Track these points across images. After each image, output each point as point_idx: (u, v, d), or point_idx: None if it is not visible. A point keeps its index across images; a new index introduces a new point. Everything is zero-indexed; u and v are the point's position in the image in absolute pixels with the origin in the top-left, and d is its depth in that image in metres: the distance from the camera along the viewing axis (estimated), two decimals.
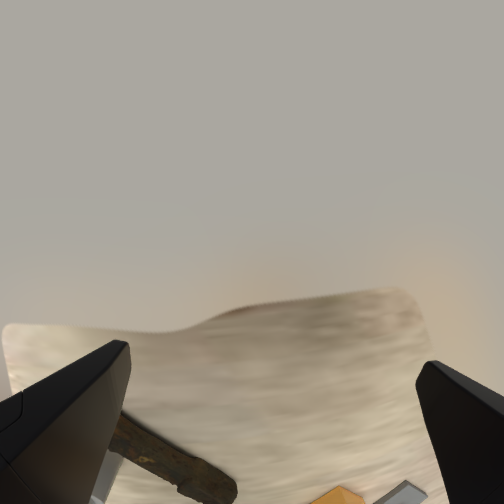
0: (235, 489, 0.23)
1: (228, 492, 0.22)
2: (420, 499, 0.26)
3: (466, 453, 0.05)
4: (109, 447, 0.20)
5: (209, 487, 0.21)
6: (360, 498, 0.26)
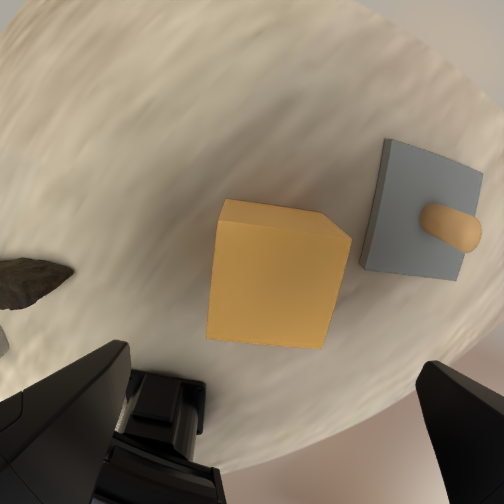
0: (57, 273, 0.17)
1: (32, 274, 0.15)
2: (470, 182, 0.16)
3: (466, 453, 0.05)
4: None
5: (4, 276, 0.15)
6: (309, 212, 0.17)
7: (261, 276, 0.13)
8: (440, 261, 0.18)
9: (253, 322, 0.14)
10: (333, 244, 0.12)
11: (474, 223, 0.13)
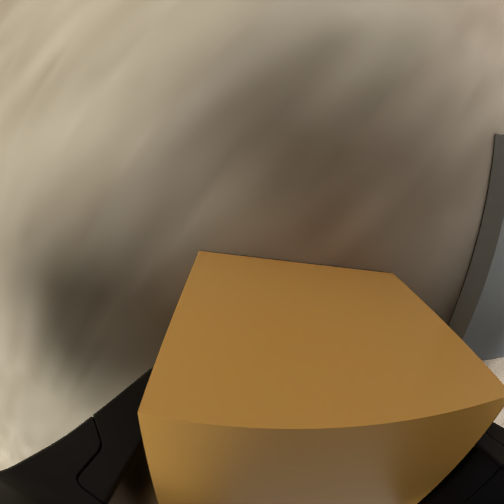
0: None
1: None
2: None
3: None
4: None
5: None
6: (376, 276, 0.08)
7: (285, 502, 0.04)
8: None
9: None
10: (475, 418, 0.03)
11: None
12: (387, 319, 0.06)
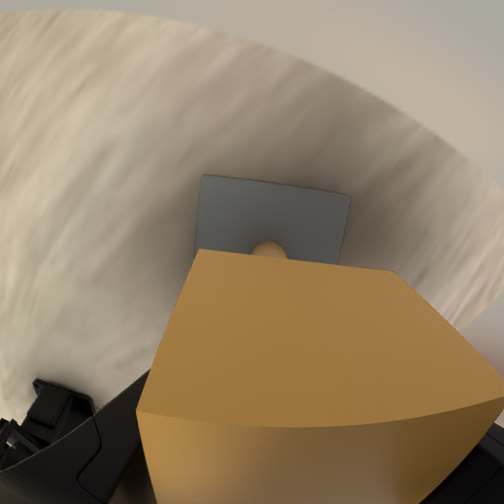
0: None
1: None
2: (328, 211, 0.16)
3: None
4: None
5: None
6: (377, 274, 0.08)
7: (286, 502, 0.04)
8: None
9: None
10: (477, 416, 0.03)
11: None
12: (388, 317, 0.06)
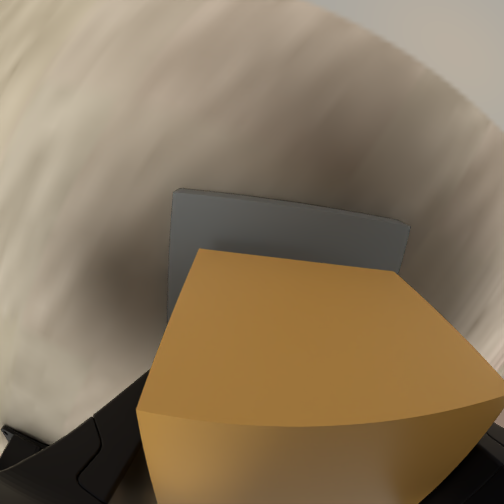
0: None
1: None
2: (377, 249, 0.10)
3: None
4: None
5: None
6: (376, 274, 0.08)
7: (286, 501, 0.04)
8: None
9: None
10: (477, 416, 0.03)
11: None
12: (388, 316, 0.06)
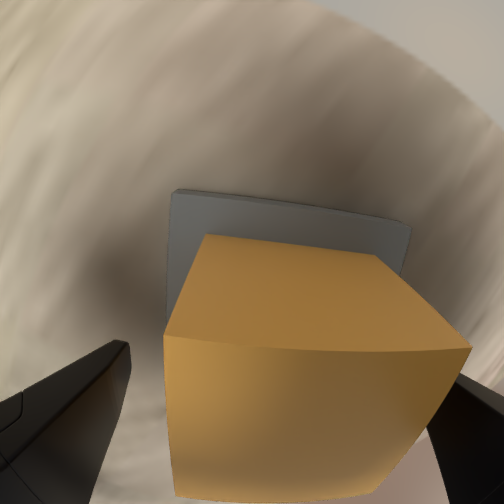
0: None
1: None
2: (378, 250, 0.10)
3: (466, 453, 0.05)
4: None
5: None
6: (358, 256, 0.09)
7: (278, 436, 0.05)
8: None
9: (259, 486, 0.06)
10: (438, 364, 0.05)
11: None
12: (363, 286, 0.07)
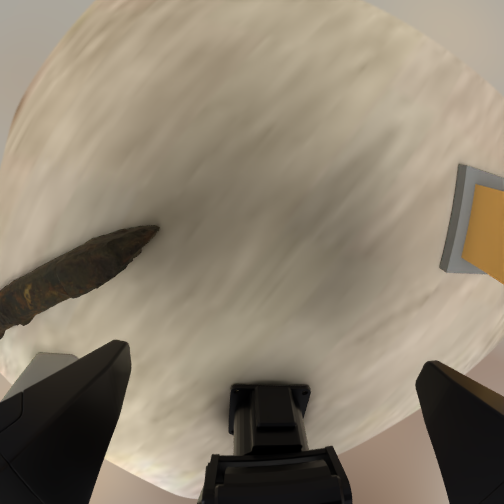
0: (144, 228, 0.17)
1: (116, 236, 0.16)
2: None
3: (466, 453, 0.05)
4: (13, 318, 0.17)
5: (80, 251, 0.15)
6: None
7: None
8: None
9: None
10: None
11: None
12: None
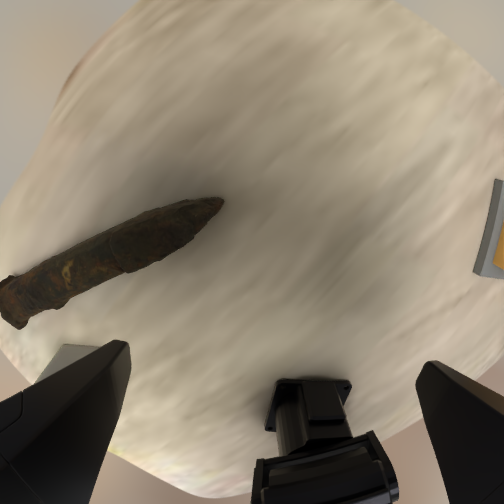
0: None
1: (184, 203, 0.15)
2: None
3: (466, 453, 0.05)
4: (44, 301, 0.17)
5: (142, 219, 0.15)
6: None
7: None
8: None
9: None
10: None
11: None
12: None
